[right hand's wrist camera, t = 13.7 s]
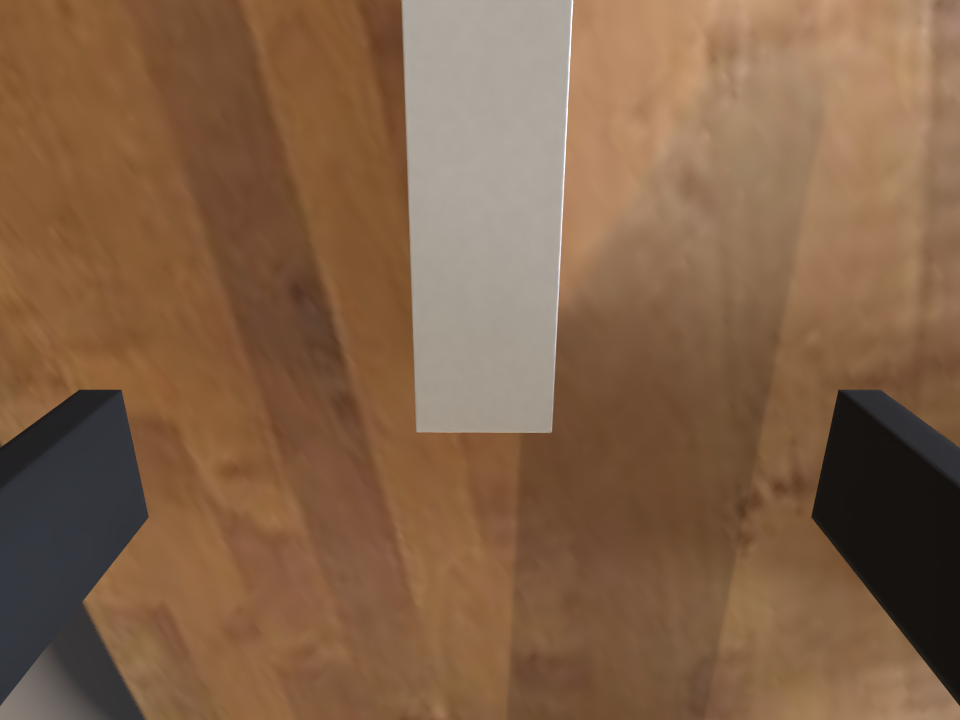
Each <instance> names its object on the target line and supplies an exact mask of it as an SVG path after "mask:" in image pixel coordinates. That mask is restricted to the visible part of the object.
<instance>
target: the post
mask: <svg viewBox="0 0 960 720" xmlns="http://www.w3.org/2000/svg"><path fill="white" fill-rule="evenodd" d="M401 4H402V34H403V63H404V92H405V122H406V151H407V180H408V209H409V239H410V268H411V297H412V327H413V356H414V385H415V414H416V432H507V433H551V432H552V419H553V398H554V378H555V357H556V337H557V316H558V296H559V275H560V254H561V234H562V213H563V193H564V172H565V152H566V131H567V111H568V90H569V70H570V49H571V29H572V8H573V0H401Z"/></svg>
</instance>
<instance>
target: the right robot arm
mask: <svg viewBox="0 0 960 720" xmlns="http://www.w3.org/2000/svg"><path fill="white" fill-rule="evenodd" d="M147 519H148V512H147V507H146V503H145V498H144V493H143V488H142V484H141V479H140V474H139V470H138V465H137V460H136V456H135V451H134V446H133V442H132V437H131V432H130V428H129V423H128V418H127V414H126V409H125V404H124V400H123V395H122V390H79V391H77V392H76V393H75V394H73V395H72V396H70V397H69V398H68V399H66V400H65V401H64V402H62V403H61V404H60V405H58V406H57V407H55V408H54V409H53V410H51V411H50V412H49V413H47V414H46V415H45V416H43V417H42V418H40V419H39V420H38V421H36V422H35V423H34V424H32V425H31V426H30V427H28V428H27V429H26V430H24V431H23V432H21V433H20V434H19V435H17V436H16V437H15V438H13V439H12V440H11V441H9V442H8V443H6V444H5V445H4V446H2V447H1V448H0V705H1V704H2V703H3V702H4V700H5V699H6V698H7V696H8V695H9V694H10V693H11V691H12V690H13V689H14V688H15V686H16V685H17V684H18V682H19V681H20V680H21V679H22V677H23V676H24V675H25V674H26V672H27V671H28V670H29V668H30V667H31V666H32V665H33V663H34V662H35V661H36V660H37V658H38V657H39V656H40V655H41V653H42V652H43V651H44V649H45V648H46V647H47V646H48V644H49V643H50V642H51V641H52V639H53V638H54V637H55V635H56V634H57V633H58V632H59V630H60V629H61V628H62V627H63V625H64V624H65V623H66V621H67V620H68V619H69V618H70V616H71V615H72V614H73V613H74V611H75V610H76V609H77V607H78V606H79V605H80V604H81V602H82V601H83V600H84V599H85V597H86V596H87V595H88V594H89V592H90V591H91V590H92V588H93V587H94V586H95V585H96V583H97V582H98V581H99V580H100V578H101V577H102V576H103V574H104V573H105V572H106V571H107V569H108V568H109V567H110V566H111V564H112V563H113V562H114V561H115V559H116V558H117V557H118V555H119V554H120V553H121V552H122V550H123V549H124V548H125V547H126V545H127V544H128V543H129V541H130V540H131V539H132V538H133V536H134V535H135V534H136V533H137V531H138V530H139V529H140V527H141V526H142V525H143V524H144V522H145V521H146V520H147ZM812 519H813V520H814V521H815V522H816V524H817V525H818V526H819V527H820V529H821V530H822V531H823V533H824V534H825V535H826V536H827V538H828V539H829V540H830V541H831V543H832V544H833V545H834V547H835V548H836V549H837V550H838V552H839V553H840V554H841V555H842V557H843V558H844V559H845V561H846V562H847V563H848V564H849V566H850V567H851V568H852V569H853V571H854V572H855V573H856V574H857V576H858V577H859V578H860V580H861V581H862V582H863V583H864V585H865V586H866V587H867V588H868V590H869V591H870V592H871V594H872V595H873V596H874V597H875V599H876V600H877V601H878V602H879V604H880V605H881V606H882V608H883V609H884V610H885V611H886V613H887V614H888V615H889V616H890V618H891V619H892V620H893V622H894V623H895V624H896V625H897V627H898V628H899V629H900V630H901V632H902V633H903V634H904V635H905V637H906V638H907V639H908V641H909V642H910V643H911V644H912V646H913V647H914V648H915V649H916V651H917V652H918V653H919V655H920V656H921V657H922V658H923V660H924V661H925V662H926V663H927V665H928V666H929V667H930V669H931V670H932V671H933V672H934V674H935V675H936V676H937V677H938V679H939V680H940V681H941V682H942V684H943V685H944V686H945V688H946V689H947V690H948V691H949V693H950V694H951V695H952V696H953V698H954V699H955V700H956V702H957V703H958V704H959V705H960V448H959V447H958V446H956V445H955V444H954V443H952V442H951V441H949V440H948V439H947V438H945V437H944V436H943V435H941V434H940V433H939V432H937V431H936V430H934V429H933V428H932V427H930V426H929V425H928V424H926V423H925V422H924V421H922V420H921V419H920V418H918V417H917V416H915V415H914V414H913V413H911V412H910V411H909V410H907V409H906V408H905V407H903V406H902V405H900V404H899V403H898V402H896V401H895V400H894V399H892V398H891V397H890V396H888V395H887V394H885V393H884V392H883V391H881V390H838V395H837V400H836V404H835V409H834V414H833V418H832V423H831V428H830V432H829V437H828V442H827V446H826V451H825V456H824V460H823V465H822V470H821V474H820V479H819V484H818V488H817V493H816V498H815V503H814V507H813V512H812Z"/></svg>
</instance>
